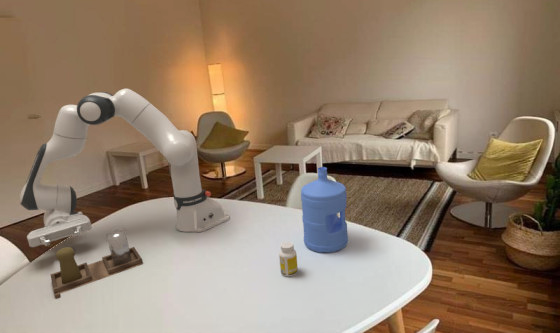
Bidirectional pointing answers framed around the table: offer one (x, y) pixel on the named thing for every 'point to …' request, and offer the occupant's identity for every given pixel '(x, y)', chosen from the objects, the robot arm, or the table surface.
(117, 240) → the steel cylinder
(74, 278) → the cork
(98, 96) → the robot arm
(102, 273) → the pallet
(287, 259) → the supplement bottle
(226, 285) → the table surface
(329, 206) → the water jug
